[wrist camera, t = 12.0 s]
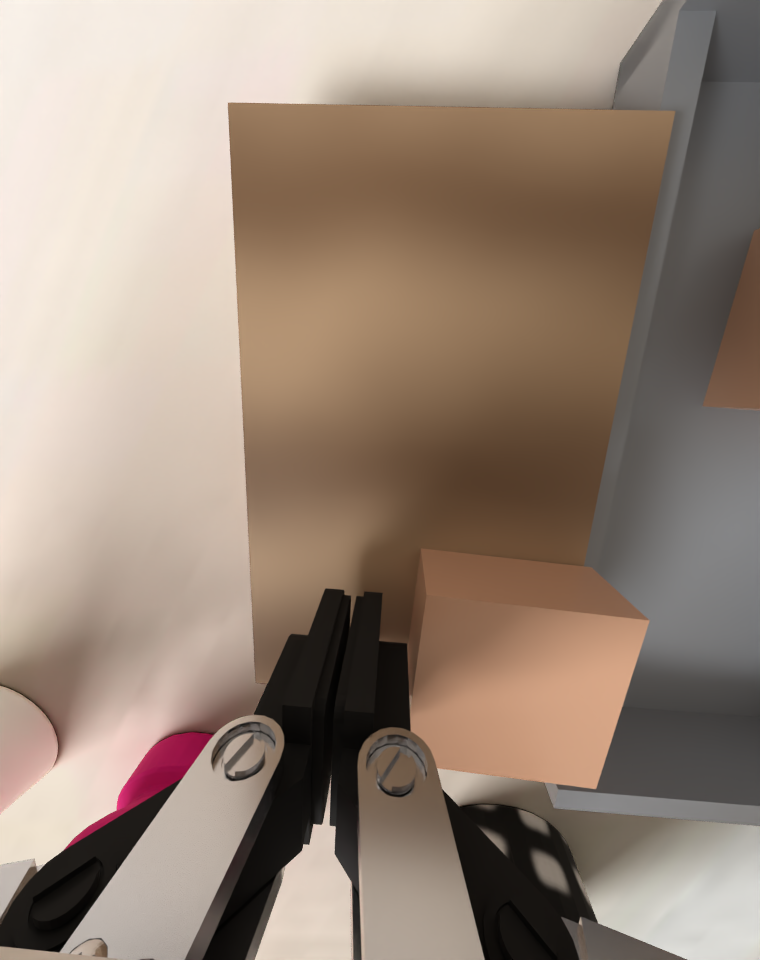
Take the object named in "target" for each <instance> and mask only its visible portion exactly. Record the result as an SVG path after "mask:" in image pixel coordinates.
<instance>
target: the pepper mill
mask: <svg viewBox="0 0 760 960" xmlns="http://www.w3.org/2000/svg"><path fill="white" fill-rule="evenodd" d="M213 736H214V735H212V734H207V733H196V732H190V733H184V734H178V735H172V736H170V737H168V738H166V739H164V740H162V741H160V742H159V743H157V744H156V745H155V746H153V747H152V748H151V749H150V750H149V751H148V753H147V754H146V755H145V757H144V758H143V760H142V761H141V762H140V764H139V765H138V767H137V768H136V770H135V771H134V773H133V774H132V776H131V777H130V778H129V780H128V781H127V783H126V784H125V786H124V787H123V789H122V790H121V792H120V795H119V797H118V801H117V811H115V812H113V813H110V814H109V815H107V816H105V817H104V818H102V819H100V820H99V821H97V822H95V823H94V824H92V825H90V826H88V827H87V828H86V829H85V830H83V831H82V832H81V833H80V834H79V835H77V836H76V837H75V838H74V839H73V840H72V841H71V842H70V844H69V845H68V846H67V847H66V848H65V849H67V848H68V847H70V846H71V845H73V844H75V843H76V842H78V841H80V840H81V839H83V838H85V837H86V836H88V835H89V834H91V833H93V832H94V831H96V830H98V829H99V828H101V827H103V826H104V825H106V824H107V823H109V822H111V821H112V820H114V819H116V818H117V817H119V816H121V815H122V814H124V813H125V812H127V811H129V810H130V809H132V808H134V807H135V806H137V805H139V804H140V803H142V802H143V801H145V800H147V799H148V798H150V797H152V796H153V795H155V794H157V793H158V792H160V791H161V790H163V789H165V788H166V787H168V786H170V785H171V784H173V783H175V782H176V781H178V780H179V779H181V778H183V777H184V776H185V774H186V773H187V771H188V770H189V769H190V767H191V766H192V764H193V763H194V762H195V760H196V759H197V757H198V756H199V755H200V753H201V752H202V750H203V749H204V747H205V746H206V745H207V743H208V742H209V740H210V739H211V738H212V737H213ZM65 849H64V850H65Z"/></svg>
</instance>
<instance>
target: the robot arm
mask: <svg viewBox="0 0 760 960" xmlns="http://www.w3.org/2000/svg"><path fill="white" fill-rule="evenodd" d="M382 595H383V593H379V592H366V591H364V595H363V596H356V600H355V605H354V610H353V615H352V620H351V625H350V613H351V595H345V591H344V590H341V589H328V588H326V589H325V590H324V593H323V596H322V598H321V601H320V604H319V607H318V609H317V612H316V615H315V617H314V620H313V623H312V625H311V628H310V631H309V634H308V635H301V634H291V635H290V636H289V637H288V639H287V641H286V644H285V646H284V648H283V650H282V653H281V655H280V657H279V659H278V661H277V664H276V666H275V668H274V670H273V673H272V675H271V677H270V679H269V682H268V684H267V686H266V688H265V691H264V693H263V695H262V697H261V699H260V702H259V704H258V706H257V708H256V711H255V713H254V715H249V716H244V717H240V718H238V719H235V720H233V721H231V722H229V723H228V724H226V725H225V726H223V727H222V728H221V729H219V730H218V731H217V732H216V734H215V735H214V736H213V737H212V738H211V739H210V740H209V742H208V743H207V745H206V746H205V747H204V749H203V750H202V752H201V753H200V755H199V756H198V757H197V759H196V760H195V762H194V763H193V764H192V766H191V767H190V769H189V770H188V771H187V773H186V774H185V776H184V777H183V778H181V779H179V780H178V781H176V782H175V783H173V784H171V785H170V786H168V787H166V788H165V789H163V790H161V791H160V792H158V793H157V794H155V795H153V796H152V797H150V798H148V799H147V800H145V801H143V802H142V803H140V804H139V805H137V806H135V807H134V808H132V809H130V810H129V811H127V812H125V813H124V814H122V815H121V816H119V817H117V818H116V819H114V820H112V821H111V822H109V823H107V824H106V825H104V826H103V827H101V828H99V829H98V830H96V831H94V832H93V833H91V834H89V835H88V836H86V837H85V838H83V839H81V840H80V841H78V842H76V843H75V844H73V845H71V846H70V847H68V848H67V849H65V850H64V851H62V852H61V853H60V854H58V855H57V856H56V857H54V858H53V859H51V860H50V861H49V862H47V863H46V864H45V865H40V866H36V863H35V859H30V860H24V861H18V862H13V863H7V864H2V865H0V960H255V957H256V954H257V951H258V948H259V945H260V943H261V940H262V937H263V934H264V931H265V928H266V925H267V923H268V920H269V917H270V914H271V911H272V908H273V906H274V903H275V900H276V897H277V894H278V891H279V888H280V886H281V883H282V879H283V874H284V870H285V866H286V865H287V864H288V863H289V862H290V861H291V860H292V859H293V858H294V857H295V856H296V855H298V854H299V853H300V852H301V851H302V848H303V844H308V845H309V843H310V838H311V833H312V828H313V824H320V825H322V823H323V819H324V813H325V807H326V802H327V796H328V790H329V784H330V778H331V802H330V826H336V835H335V855H336V857H337V858H338V860H339V862H340V863H341V865H342V867H343V868H344V870H345V872H346V873H347V875H348V877H349V878H350V880H351V889H350V892H351V956H352V960H687V959H684V958H682V957H679V956H677V955H674V954H672V953H670V952H667V951H665V950H662V949H660V948H657V947H655V946H652V945H650V944H647V943H645V942H642V941H640V940H638V939H635V938H633V937H630V936H628V935H625V934H623V933H620V932H618V931H615V930H613V929H610V928H608V927H606V926H603V925H601V924H598V923H596V922H593V921H591V920H588V919H586V918H583V917H580V921H579V924H578V923H575V922H573V921H570V920H568V919H565V918H563V917H561V916H560V915H559V914H558V912H557V911H556V910H555V909H554V907H553V906H552V905H551V903H550V902H549V901H548V900H547V898H546V897H545V896H544V895H543V894H542V893H541V892H540V891H539V890H538V889H537V888H536V887H535V886H534V885H533V884H532V883H531V882H530V881H529V880H528V878H527V877H526V876H525V875H524V874H523V873H522V872H521V871H520V870H519V869H518V868H517V867H516V866H515V865H514V864H513V863H512V862H511V861H510V860H509V859H508V858H507V856H506V855H505V854H504V853H503V852H502V851H501V850H500V849H499V848H498V847H497V846H496V845H495V844H494V843H493V842H492V841H491V840H490V839H489V838H488V837H487V836H486V834H485V833H484V832H483V831H482V830H481V829H480V828H479V827H478V826H477V825H476V824H475V823H474V822H473V821H472V820H471V819H470V818H469V817H468V816H467V815H466V814H465V812H464V811H463V810H462V809H461V808H460V807H459V806H458V805H457V804H456V803H455V802H454V801H453V800H452V799H451V798H450V797H449V796H448V795H447V794H446V793H445V792H444V790H443V789H442V787H441V783H440V779H439V775H438V771H437V767H436V763H435V760H434V757H433V755H432V752H431V750H430V748H429V747H428V746H427V744H426V743H425V742H424V741H423V739H421V738H420V737H419V736H417V735H416V734H415V733H413V732H411V724H410V699H409V675H408V651H407V643H397V642H385V641H379V639H380V624H381V610H382Z"/></svg>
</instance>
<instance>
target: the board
mask: <svg viewBox="0 0 760 960" xmlns="http://www.w3.org/2000/svg"><path fill="white" fill-rule="evenodd" d="M228 115H229V136H230V157H231V178H232V199H233V220H234V241H235V262H236V283H237V304H238V325H239V346H240V367H241V388H242V409H243V430H244V451H245V471H246V492H247V513H248V534H249V555H250V576H251V597H252V618H253V639H254V660H255V681H256V683H263V684H268V682H269V679H270V677H271V675H272V673H273V670H274V668H275V666H276V664H277V661H278V659H279V657H280V655H281V653H282V650H283V648H284V646H285V644H286V641H287V639H288V637H289V636H290V635H291V634H301V635H308V634H309V631H310V628H311V625H312V623H313V620H314V617H315V615H316V612H317V609H318V607H319V604H320V601H321V598H322V596H323V593H324V590H325V589H326V588H328V589H341V590H344V591H345V595H351V613H350V625H351V620H352V615H353V610H354V605H355V600H356V596H363V595H364V591H366V592H379V593H383V595H382V610H381V624H380V639H379V641H385V642H397V643H407V649H408V641H409V634H410V626H411V619H412V611H413V603H414V596H415V588H416V580H417V573H418V565H419V558H420V550H421V548H422V549H431V550H440V551H449V552H458V553H467V554H476V555H485V556H494V557H503V558H512V559H521V560H530V561H539V562H548V563H557V564H566V565H575V566H584V563H585V558H586V553H587V548H588V543H589V538H590V533H591V528H592V523H593V518H594V513H595V508H596V503H597V498H598V493H599V488H600V483H601V478H602V473H603V468H604V463H605V459H606V454H607V449H608V444H609V439H610V434H611V429H612V424H613V419H614V414H615V409H616V404H617V399H618V394H619V389H620V384H621V379H622V374H623V369H624V364H625V359H626V354H627V349H628V344H629V339H630V334H631V329H632V324H633V319H634V314H635V309H636V305H637V300H638V295H639V290H640V285H641V280H642V275H643V270H644V265H645V260H646V255H647V250H648V245H649V240H650V235H651V230H652V225H653V220H654V215H655V210H656V205H657V200H658V195H659V190H660V185H661V180H662V175H663V170H664V165H665V160H666V155H667V150H668V146H669V141H670V136H671V131H672V126H673V121H674V116H675V111H652V110H598V109H543V108H489V107H435V106H381V105H326V104H272V103H228Z"/></svg>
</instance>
